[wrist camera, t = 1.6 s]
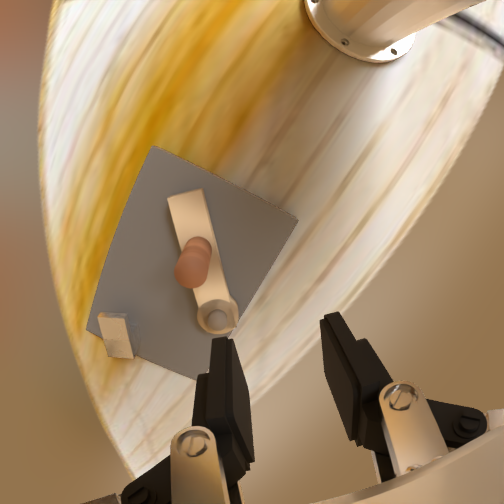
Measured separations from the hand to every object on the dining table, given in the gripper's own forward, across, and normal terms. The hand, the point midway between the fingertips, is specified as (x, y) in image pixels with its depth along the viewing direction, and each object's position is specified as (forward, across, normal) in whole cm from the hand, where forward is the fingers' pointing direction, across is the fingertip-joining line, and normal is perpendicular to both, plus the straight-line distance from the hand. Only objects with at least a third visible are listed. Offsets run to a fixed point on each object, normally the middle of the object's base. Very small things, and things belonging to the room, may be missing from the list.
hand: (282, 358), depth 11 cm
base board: (+19, +8, +3) cm, 21 cm away
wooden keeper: (+18, +16, +7) cm, 25 cm away
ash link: (+18, +5, +2) cm, 18 cm away
